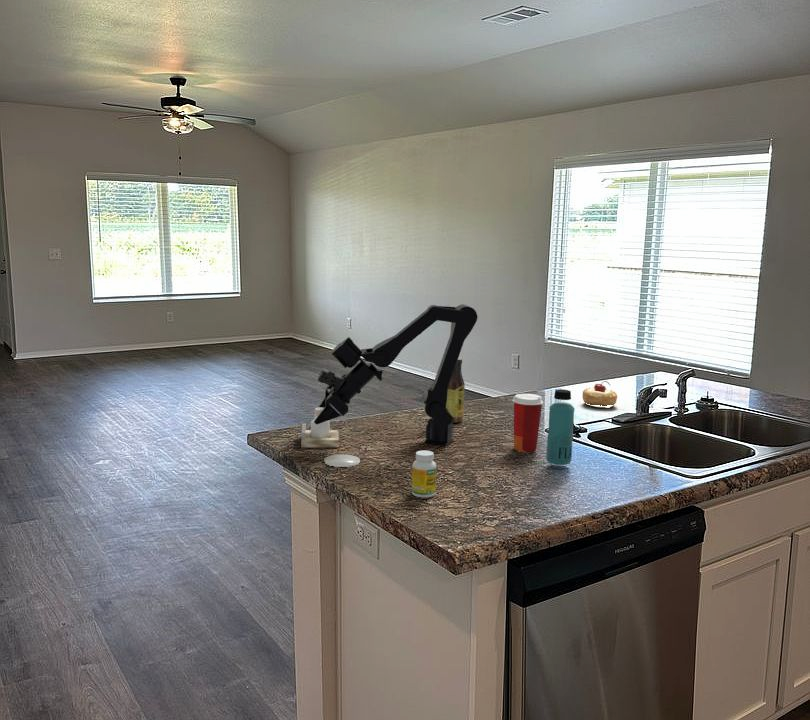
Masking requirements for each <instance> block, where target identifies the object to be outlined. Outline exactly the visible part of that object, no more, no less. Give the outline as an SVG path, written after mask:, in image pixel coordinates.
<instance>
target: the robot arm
mask: <svg viewBox="0 0 810 720" xmlns="http://www.w3.org/2000/svg"><path fill="white" fill-rule="evenodd" d="M478 317H479V316H478V314H477V311H476V310H475V308H473V307H471V306H470V305H468V304H459V305H457V306H449V305H445V306H443V305H437V304H431V305H429V306H428V307H427V308H426V310H424V311H423V312H422V313H420V314H419V315H418V316H417V317H415V318H414V319H413V320H412V321H411V322H410V323H408V324H407V325H406V326H404V328H402V329H401V330H400V331H398V332H397V333H396V334H395V335H393V336H391V337H389V338H386V339H385V340H382V341H381V342H378V343H377V344H375V345H374V346H373V347H371V348H363V349H360V348H359V346H358V345H357V344H356V343H355V342H354V340H353V339H352V338H351V337H350V336H347V337H346V339H344V340H342V341H341V342H339V343H338V344H337V345H336V346H335V347H333V349H332V350H331V351H330V355H331V356H332V357H333V358H334V359H335V360H336V361H337V362H338V363H339V365H341V366H342V367H343V368H344V369H346V368H348V369H351V370H350V371H349V372H348V373H344V374H342V375H339V374H338V373H335V372H333V371H331V370H328V369H327V368H325V367H323V368H322V369H321V370H320V373H319V375H318V377H317V381H318V382H319V383H322V384H325V385H326V388H325V389H324V390H325V391H324V392H325V394H324V398H323V400H322V401H321V402H320V404H319V406H318V407H317V408H319V407H322V408H324V409H323V410H322V411H321V413H320V414H319V415H318V417H317V418H316V419H315V418H314V419H315V421H314V423H315V424H316V425H317V424H320V423H323V422H325V421H328V420H329V421H331V420H334V419H336V418H339V417H344V416H345V415H346V414H348V413H349V404H350V403H351V400H352V399H353V398H355V396H356V395H359V394H360V393H362V390H363V388H364V387H366V386H367V385H368V384H369V383H370V382H371V381H372V380H373V379H374V378H375V377H376V378H377V380H378V381H379V382H381V381H382V380H383V373H384V372H383V369H378V368H387V367H389V366H390V365H391V364H392V363H393V361H395V360H396V358H398V356H399V355H400V353H401V352H402V351H403V349H404V348H405V347H406V346H407V345H409V344H410V343H411V342H413V341H414V340H415V339H416V338H417V337H419V335H421V334H422V333H423V332H424V331H426V330H427V329H428V328H429V327H430V326H432V325H433V324H435V322H437V321H438V322H439V321H441V322H447V323H450V334H449V338H448V341H447V343H446V347H445V349H444V353H443V355H442V357H441V361H440V363H439V366H438V369H437V372H436V375H435V379H434V380H433V383H432V384H431V385H430V386H428V385H425V387H424V391H423V394H422V396H421V397H420V400H421V401H422V402H421V406H422V408H423V410H424V412H425V414H426V415H427V416H428V417H430V418H429V419H428V420H427V424H426V425H425V440H424V443H426V444H430V445H438V446H444V447H445V446H447V445H450V444H451V443H453V442H454V441H455V439H454V438H453V423H452V420H453V417H452V415H451V414H450V412H449V411H448V409H447V408H446V403H447V393H448V386H449V383H450V380H451V377H452V374H453V372H454V369H455V366H456V363H457V360H458V358H460V354H461V351H462V349H463V345H464V343H465V340H466V339H467V338H468V337H469V335H470V334H471V332H472V331H473V328H474V327H475V325H476V323H477V321H478ZM367 362H369V363H367ZM376 366H377V367H378V368H377V367H376ZM314 415H315V412H314Z"/></svg>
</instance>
